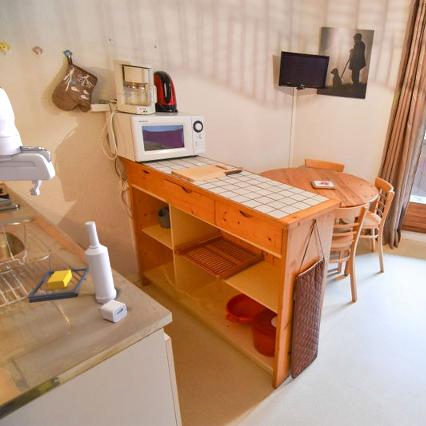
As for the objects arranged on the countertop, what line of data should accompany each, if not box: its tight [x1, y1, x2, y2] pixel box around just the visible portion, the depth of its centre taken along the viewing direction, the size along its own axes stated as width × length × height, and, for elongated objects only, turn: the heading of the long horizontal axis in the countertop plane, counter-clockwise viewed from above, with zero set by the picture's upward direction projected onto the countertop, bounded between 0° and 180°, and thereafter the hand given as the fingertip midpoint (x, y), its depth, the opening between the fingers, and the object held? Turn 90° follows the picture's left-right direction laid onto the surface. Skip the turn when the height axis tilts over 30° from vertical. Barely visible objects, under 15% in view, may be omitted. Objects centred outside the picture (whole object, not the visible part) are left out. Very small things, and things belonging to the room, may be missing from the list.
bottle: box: [84, 221, 117, 305], centre depth 90 cm, size 5×5×25 cm
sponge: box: [46, 269, 73, 290], centre depth 97 cm, size 6×4×4 cm, turn 18°
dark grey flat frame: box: [27, 267, 90, 304], centre depth 98 cm, size 11×13×2 cm
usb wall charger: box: [97, 299, 128, 323], centre depth 88 cm, size 4×7×4 cm, turn 71°
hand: (15, 195), depth 89 cm, fingers open, 8 cm apart
